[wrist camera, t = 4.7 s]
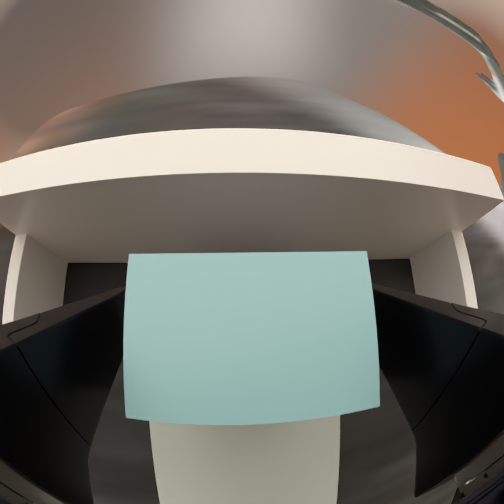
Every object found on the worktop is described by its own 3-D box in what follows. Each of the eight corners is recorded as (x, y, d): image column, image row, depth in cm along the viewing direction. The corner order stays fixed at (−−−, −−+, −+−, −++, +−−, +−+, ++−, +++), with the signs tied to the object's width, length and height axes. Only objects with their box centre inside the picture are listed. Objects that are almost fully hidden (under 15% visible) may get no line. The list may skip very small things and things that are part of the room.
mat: (332, 524, 11) (334, 527, 11) (167, 531, 10) (166, 534, 10) (337, 403, 14) (340, 404, 14) (150, 408, 14) (148, 410, 13)
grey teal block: (295, 376, 15) (379, 406, 5) (190, 379, 14) (125, 417, 5) (292, 309, 16) (366, 250, 7) (189, 311, 16) (129, 254, 6)
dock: (432, 386, 15) (533, 387, 6) (51, 397, 13) (-47, 404, 4) (413, 233, 19) (490, 167, 10) (62, 236, 17) (-13, 167, 8)
